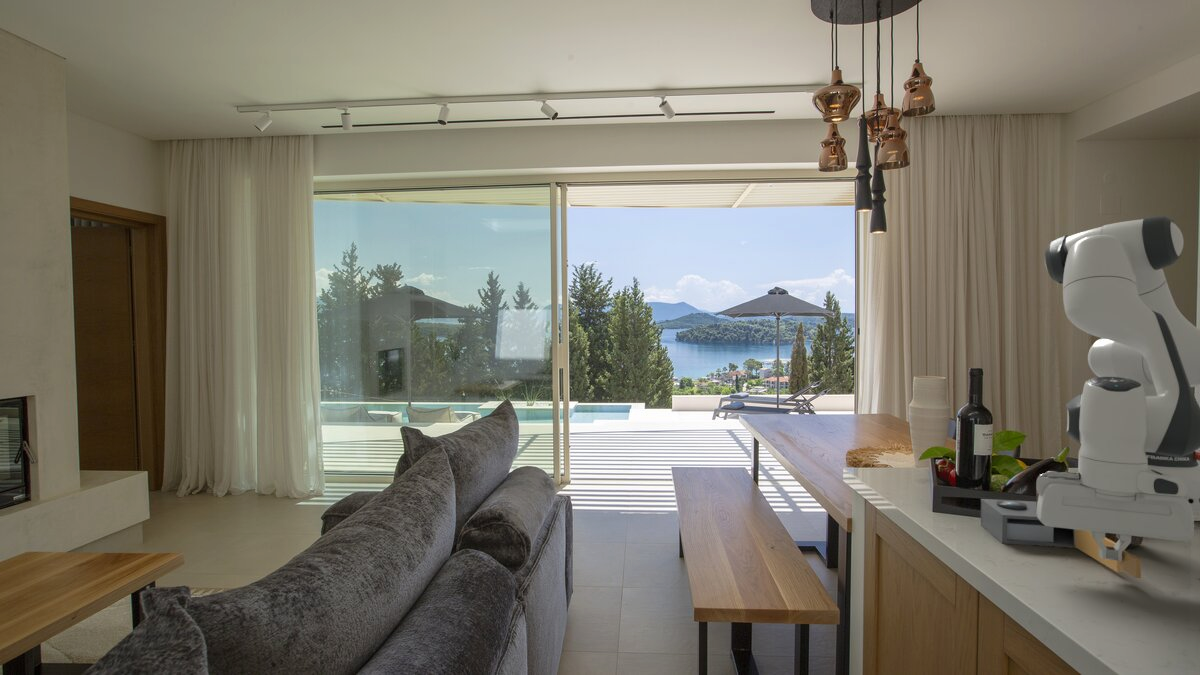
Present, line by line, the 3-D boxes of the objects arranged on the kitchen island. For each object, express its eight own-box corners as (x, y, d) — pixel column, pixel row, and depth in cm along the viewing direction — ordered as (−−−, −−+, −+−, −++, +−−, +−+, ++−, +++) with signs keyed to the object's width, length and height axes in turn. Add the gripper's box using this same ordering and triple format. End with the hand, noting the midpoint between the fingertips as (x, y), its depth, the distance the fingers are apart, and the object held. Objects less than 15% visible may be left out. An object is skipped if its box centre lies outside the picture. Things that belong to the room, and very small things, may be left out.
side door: (1072, 546, 115) (1072, 521, 115) (1077, 546, 115) (1077, 521, 115) (1135, 584, 99) (1135, 555, 99) (1140, 585, 99) (1141, 555, 98)
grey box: (1068, 530, 125) (1068, 500, 125) (1098, 549, 115) (1099, 517, 115) (980, 524, 129) (981, 495, 129) (1002, 543, 118) (1002, 511, 118)
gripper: (1041, 473, 104) (1039, 555, 104) (1200, 486, 95) (1198, 575, 96) (1032, 466, 109) (1030, 543, 110) (1181, 477, 101) (1179, 561, 101)
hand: (1110, 558), depth 103 cm, fingers closed
